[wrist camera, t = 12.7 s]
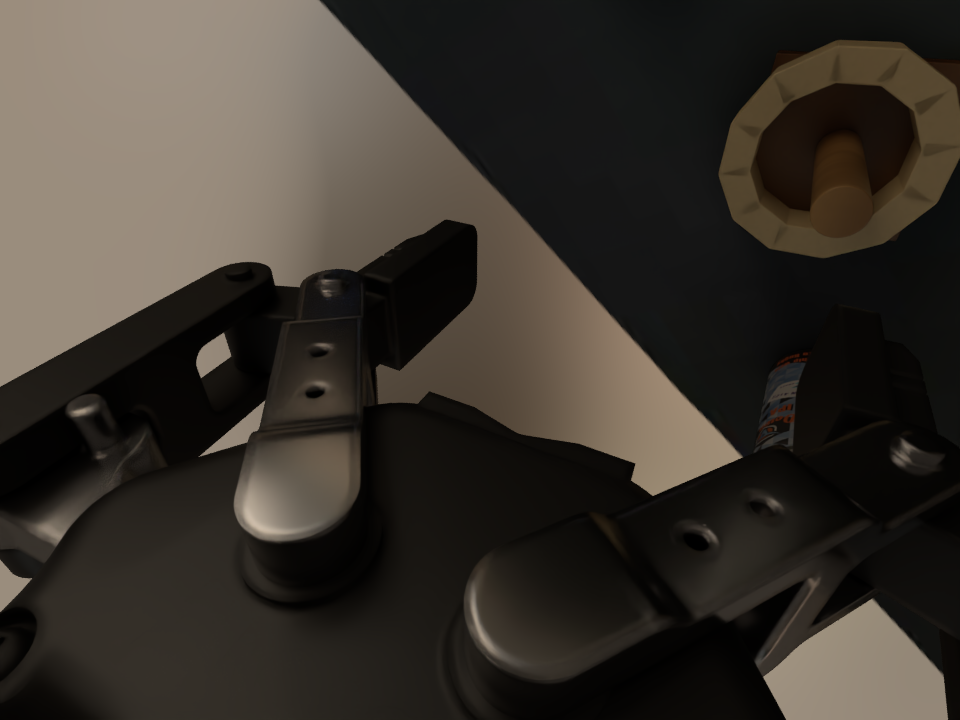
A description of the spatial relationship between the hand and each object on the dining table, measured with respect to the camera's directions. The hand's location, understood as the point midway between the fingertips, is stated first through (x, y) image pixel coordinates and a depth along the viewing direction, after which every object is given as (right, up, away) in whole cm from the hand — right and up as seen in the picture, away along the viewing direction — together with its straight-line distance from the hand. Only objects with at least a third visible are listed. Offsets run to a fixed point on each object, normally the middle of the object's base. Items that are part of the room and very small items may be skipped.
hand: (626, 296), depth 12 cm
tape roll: (+16, +10, +18) cm, 26 cm away
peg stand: (+17, +11, +19) cm, 28 cm away
